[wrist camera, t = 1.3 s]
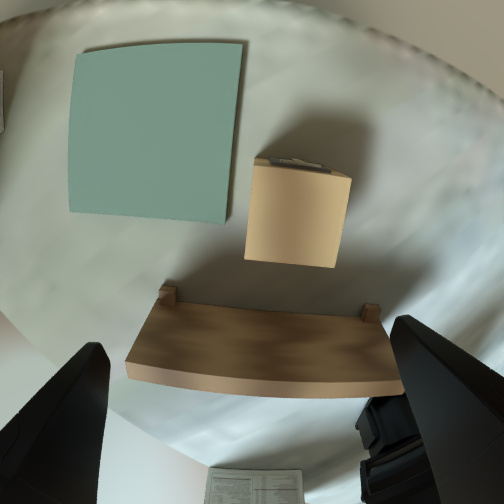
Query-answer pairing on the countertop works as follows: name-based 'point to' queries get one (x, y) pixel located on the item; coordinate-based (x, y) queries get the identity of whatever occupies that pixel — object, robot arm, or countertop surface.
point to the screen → (263, 352)
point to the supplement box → (254, 486)
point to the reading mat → (154, 130)
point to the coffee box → (1, 102)
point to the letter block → (296, 212)
